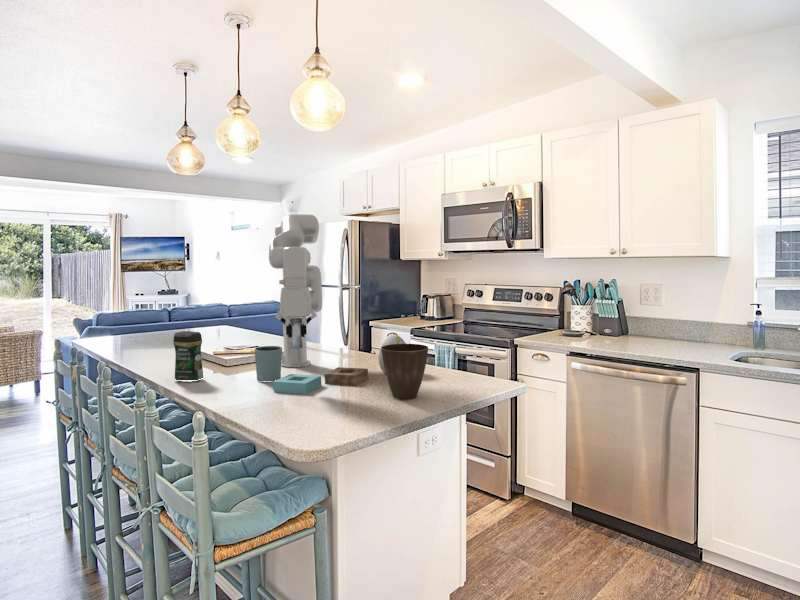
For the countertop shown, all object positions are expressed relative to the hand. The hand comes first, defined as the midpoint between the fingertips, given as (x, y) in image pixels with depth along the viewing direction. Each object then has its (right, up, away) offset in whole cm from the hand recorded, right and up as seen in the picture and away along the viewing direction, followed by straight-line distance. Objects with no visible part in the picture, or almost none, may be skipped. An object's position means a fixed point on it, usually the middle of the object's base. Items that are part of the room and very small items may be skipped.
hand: (296, 336), depth 172 cm
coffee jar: (-43, -18, +16) cm, 50 cm away
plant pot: (+37, -19, -12) cm, 43 cm away
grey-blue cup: (-13, -18, +16) cm, 27 cm away
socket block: (0, -18, +1) cm, 18 cm away
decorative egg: (+33, -16, +25) cm, 44 cm away
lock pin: (0, -4, 0) cm, 4 cm away
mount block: (+16, -17, +12) cm, 26 cm away
